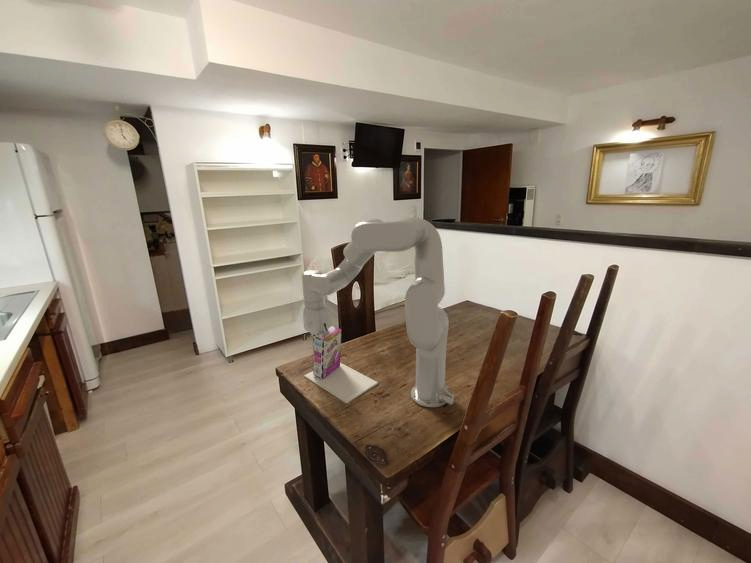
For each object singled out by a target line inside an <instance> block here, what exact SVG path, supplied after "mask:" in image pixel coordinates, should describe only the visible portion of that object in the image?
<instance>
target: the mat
mask: <svg viewBox="0 0 751 563" xmlns="http://www.w3.org/2000/svg"><path fill="white" fill-rule="evenodd" d="M303 377H304V378H306V379H308V380H309V381H310V382H312V383H314V384H316V386H319V387H320V388H322V389H323V390H324V391H326V392H328V393H329V394H331V395H332V396H334V398H335V397H336V398H337V399H339V400H340V401H341V402H343V403H345V404H349V403H350V402H352V401H354V400H355V399H356V398H359V397H360V396H361V395H362V394H364V393H366V392H368V391H369V390H370V389H373V387H375V386H377V385H378V383H379V382H378V381H376V380H374V379H372V378H370V377H369V376H367V375H364V374H363V373H361V372H359V371H357V370H355V369H353V368H352V367H350V366H347V365H346V364H343V363H341V362H340V366H339V367H338V368H336V369H335V370H334V371H333V372H331V373H330V374H329V375H327V376H326V377H325V378H324V379H320V378H318V377H316V376H314V375H313V370H312V371H310V372H308V373H305V374H304V375H303Z"/></svg>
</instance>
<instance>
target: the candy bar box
mask: <svg viewBox="0 0 751 563" xmlns="http://www.w3.org/2000/svg"><path fill="white" fill-rule="evenodd" d="M312 344H313V345H312V348H313V349H312V350H313V351H312V352H313V354H312V356H313V357H312V358H313V359H312V367H313V368H312V371H313V375H314V376H316V377H318V378H320V379H324V378H325V377H326V376H327V375H329V374H330V373H331V372H333V371H334V370H335V369H336V368H338V367H339V366H340V363H341V352H342V351H341V349H342V329H341V328H339V327H335V326H333V325H331V326H330V327H328V330H327V329H326V332H324V333H323V332H322V333H321V334H317V335H316V336H314V337H313V339H312Z"/></svg>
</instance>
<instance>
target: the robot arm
mask: <svg viewBox="0 0 751 563" xmlns="http://www.w3.org/2000/svg"><path fill="white" fill-rule="evenodd" d="M350 237H351V238H350V239H351V240H350V241H349V242H348V243H347V244H346V245H345V247H344V248H343V256H344V259H343V260H342V261H341V263H339V265H338V266H337V267H336V268H335V269H332V270H330V271H328V272H325V273H323V272H322V271H321V270H318V269H311V270H310V269H308V270H305V271H304V272H302V274H301V281H302V293H303V311H302V312H303V314H302V315H303V329H304V330H305V331H307V332H308V333H310V335H311V338H312V340H313V337H314V336H316V335H317V334H321V333H322V332H323V333H324V332H326V329H327V330H328V328H329V319H328V315H327V310H326V301H325V300H326V299H325V296H327V297H328V296H332V295H333V294H335V293H337V292H338V291H340V290H342V289H344V288H346V287H347V286H348V285H349V284H350V283H351V282H352V281H353V280H354V278H356V277H357V275H358V274H360V272H361V270H362V269H363V267H364V265H365V264H367V262H368V261H369V260H370V259H371V258H372V257H373V256H374V255H375V254H376V253H377V252H381V253H383V252H385V253H387V252H388V253H389V252H392V253H400V252H405V251H408V250H411V249H412V248H414V250H415V251H414V254H415V255H414V260H413V261H414V282H413V283H412V284H410V286H409V287H408V289H407V290H406V292H405V297H404V310H405V326H406V334H407V338H408V340H409V342H410V343H411V345H412V346H413V347H415V348H416V350H415V351H416V352H415V385H414V386H413V387H412V388H411V389H410V396H411V399H412V400H413V401H414V402H415V403H416V404H417V405H419V406H422V407H426V408H439V407H442V406H444V405H445V404H448V405H450V406H452V405H453V403H455V402H454V401H455V399H454V397H455V394H453V393H451V392H449V391H448V385H446V383H445V382H446V380H445V379H446V361H447V360H446V356H447V343H448V335H449V334H448V333H449V326H450V325H449V324H450V322H449V317H448V315H447V313H446V311H445V310H444V309H443V308H441V307H440V306H439V304H441V302H442V301H443V299H444V296H445V294H446V290H445V273H444V271H445V270H444V258H443V257H444V256H443V244H442V238H441V235H440V233H439V231H438V230H437V228H436V227H435V226H434V225H433V224H432V223H431V222H429V221H428V220H426V219H424V218H420V217H415V216H414V217H408V218H404V219H401V220H397V221H395V220H394V221H383V220H381V219H379V218H372V219H368V220H363V221H360V222H358V223H357V224H356V225H355V226H354V227H353V228H352V230H351V234H350Z"/></svg>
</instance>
